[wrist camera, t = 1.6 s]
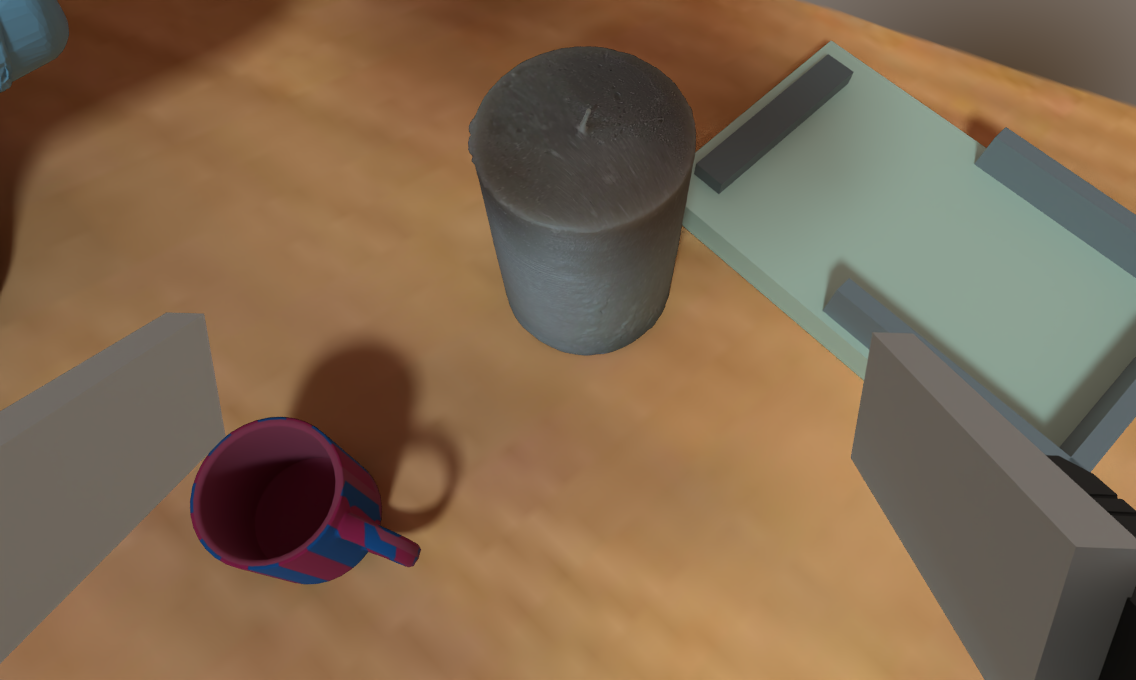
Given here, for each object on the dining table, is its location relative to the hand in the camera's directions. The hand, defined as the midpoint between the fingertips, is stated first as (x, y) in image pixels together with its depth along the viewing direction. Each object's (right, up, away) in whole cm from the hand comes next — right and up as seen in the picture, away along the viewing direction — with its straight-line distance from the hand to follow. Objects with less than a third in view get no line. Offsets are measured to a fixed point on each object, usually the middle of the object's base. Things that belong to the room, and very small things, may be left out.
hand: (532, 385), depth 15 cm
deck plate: (+21, +6, +29) cm, 36 cm away
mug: (-11, -9, +24) cm, 28 cm away
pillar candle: (+2, +4, +29) cm, 30 cm away
